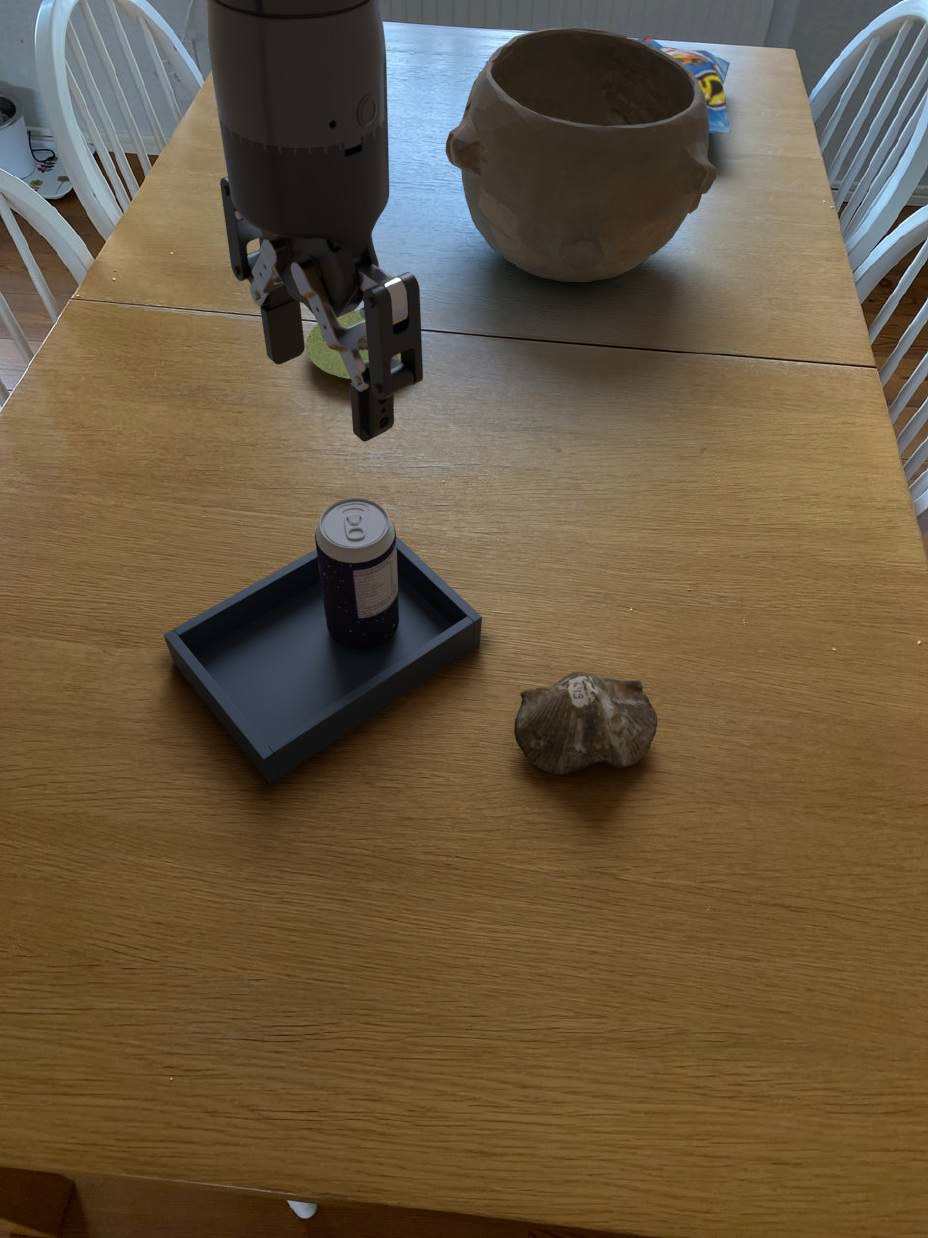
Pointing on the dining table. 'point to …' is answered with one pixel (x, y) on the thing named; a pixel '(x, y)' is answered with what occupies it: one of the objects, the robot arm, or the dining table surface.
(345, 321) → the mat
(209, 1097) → the dining table surface
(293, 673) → the dark blue tray
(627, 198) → the bowl
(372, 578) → the beverage can
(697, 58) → the packet
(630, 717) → the fossilized seashell
